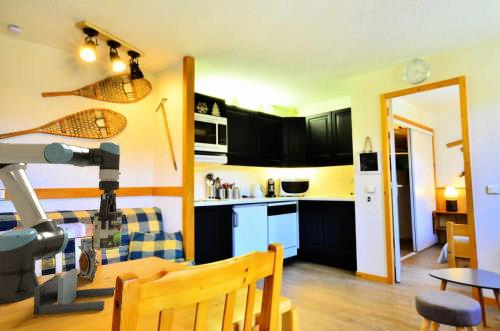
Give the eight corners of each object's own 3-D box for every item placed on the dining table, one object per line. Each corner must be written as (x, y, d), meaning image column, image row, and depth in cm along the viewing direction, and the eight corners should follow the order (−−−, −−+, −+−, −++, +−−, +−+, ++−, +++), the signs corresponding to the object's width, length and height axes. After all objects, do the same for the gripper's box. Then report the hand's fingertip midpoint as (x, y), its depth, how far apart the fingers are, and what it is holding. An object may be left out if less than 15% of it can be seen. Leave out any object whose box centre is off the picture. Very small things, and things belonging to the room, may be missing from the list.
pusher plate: (57, 310, 93) (58, 278, 94) (71, 297, 104) (72, 268, 105) (62, 310, 93) (63, 277, 94) (76, 297, 104) (77, 268, 105)
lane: (33, 315, 91) (34, 288, 91) (55, 298, 104) (55, 275, 105) (103, 309, 94) (103, 284, 95) (115, 294, 108) (115, 271, 108)
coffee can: (126, 245, 123) (127, 211, 124) (110, 250, 113) (111, 213, 114) (104, 244, 125) (105, 211, 126) (86, 250, 115) (88, 213, 116)
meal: (72, 276, 130) (73, 246, 131) (82, 274, 134) (83, 245, 135) (88, 283, 121) (88, 250, 122) (98, 280, 124) (99, 249, 125)
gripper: (111, 179, 110) (110, 240, 109) (125, 181, 132) (123, 231, 131) (89, 179, 109) (88, 241, 107) (107, 181, 131) (105, 231, 129)
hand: (107, 235), depth 119 cm, fingers closed on coffee can, 10 cm apart
